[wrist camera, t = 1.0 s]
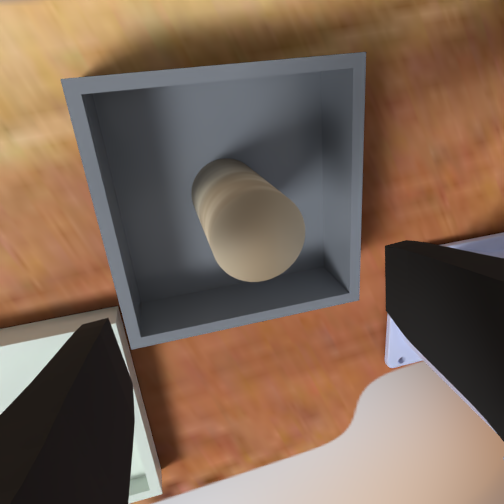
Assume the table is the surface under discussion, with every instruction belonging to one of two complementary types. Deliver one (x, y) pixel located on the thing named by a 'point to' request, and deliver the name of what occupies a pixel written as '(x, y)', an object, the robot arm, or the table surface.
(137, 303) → the charcoal bin
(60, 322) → the sage tray
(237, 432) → the table surface
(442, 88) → the table surface
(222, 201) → the birch pin
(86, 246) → the table surface
